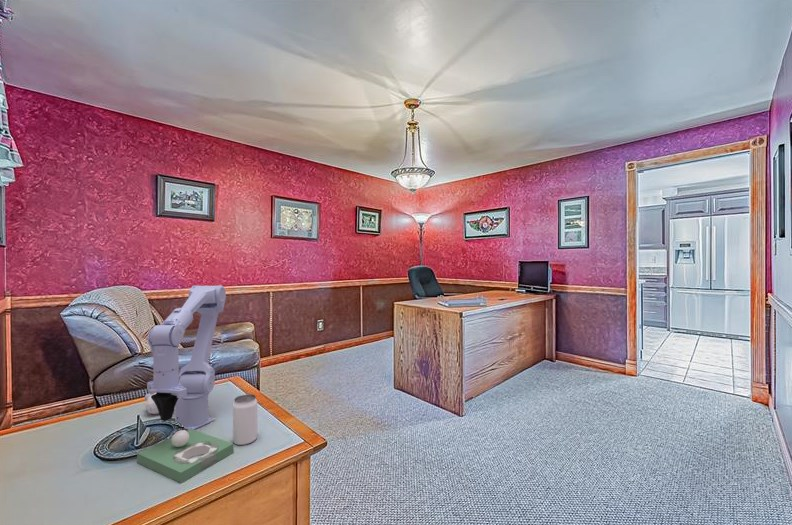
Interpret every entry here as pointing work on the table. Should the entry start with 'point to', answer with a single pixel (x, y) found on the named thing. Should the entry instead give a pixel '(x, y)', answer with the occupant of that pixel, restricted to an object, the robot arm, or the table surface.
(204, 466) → the putting mat
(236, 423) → the can
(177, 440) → the ball
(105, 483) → the table surface
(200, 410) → the robot arm
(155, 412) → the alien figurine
